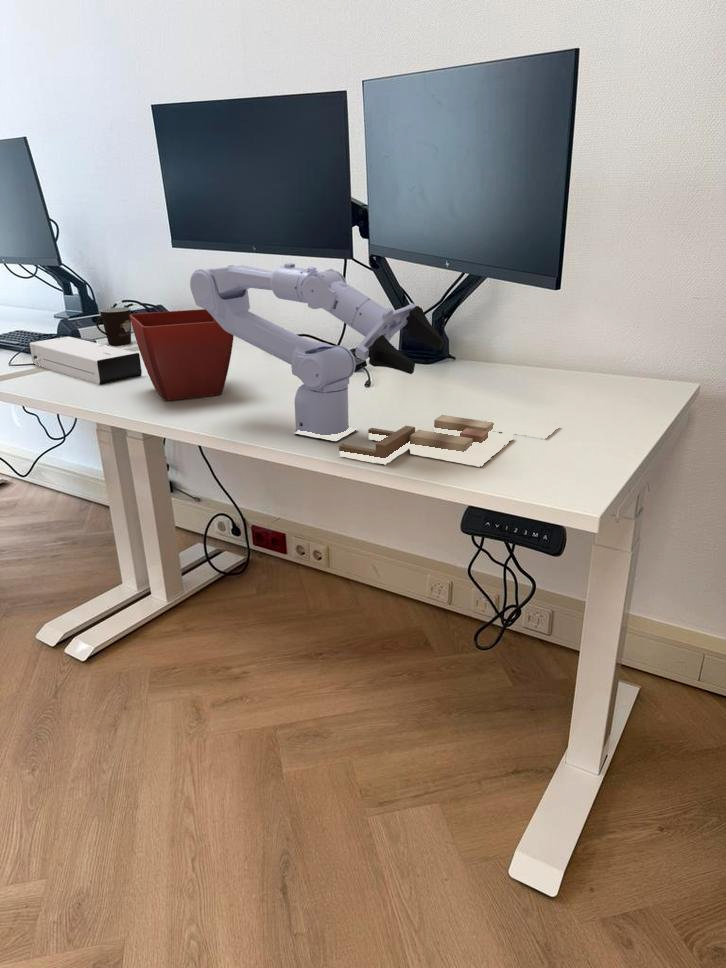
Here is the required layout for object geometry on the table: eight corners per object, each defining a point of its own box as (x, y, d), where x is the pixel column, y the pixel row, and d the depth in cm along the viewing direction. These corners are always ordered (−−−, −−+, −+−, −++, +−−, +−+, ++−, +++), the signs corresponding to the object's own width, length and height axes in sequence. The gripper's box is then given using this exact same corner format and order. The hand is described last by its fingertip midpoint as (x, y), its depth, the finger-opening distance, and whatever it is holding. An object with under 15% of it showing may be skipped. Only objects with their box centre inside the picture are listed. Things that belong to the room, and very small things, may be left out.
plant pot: (219, 377, 171) (213, 307, 164) (241, 397, 155) (235, 319, 149) (138, 387, 164) (128, 313, 157) (153, 408, 148) (142, 327, 141)
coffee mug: (128, 339, 216) (123, 306, 212) (139, 344, 210) (135, 309, 206) (90, 345, 209) (84, 310, 205) (101, 349, 203) (95, 314, 199)
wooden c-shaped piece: (339, 456, 119) (338, 437, 118) (371, 438, 128) (371, 419, 127) (384, 465, 115) (385, 445, 114) (415, 445, 124) (415, 426, 123)
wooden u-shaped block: (406, 454, 120) (406, 437, 119) (444, 428, 133) (445, 413, 132) (480, 467, 114) (481, 450, 113) (513, 439, 127) (514, 423, 126)
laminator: (142, 377, 174) (139, 352, 171) (96, 387, 165) (92, 361, 163) (73, 358, 194) (69, 336, 192) (29, 366, 186) (24, 343, 183)
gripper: (336, 318, 111) (402, 362, 107) (393, 275, 118) (458, 315, 114) (334, 350, 117) (397, 393, 113) (389, 308, 124) (450, 347, 120)
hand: (427, 356), depth 114 cm, fingers open, 7 cm apart
